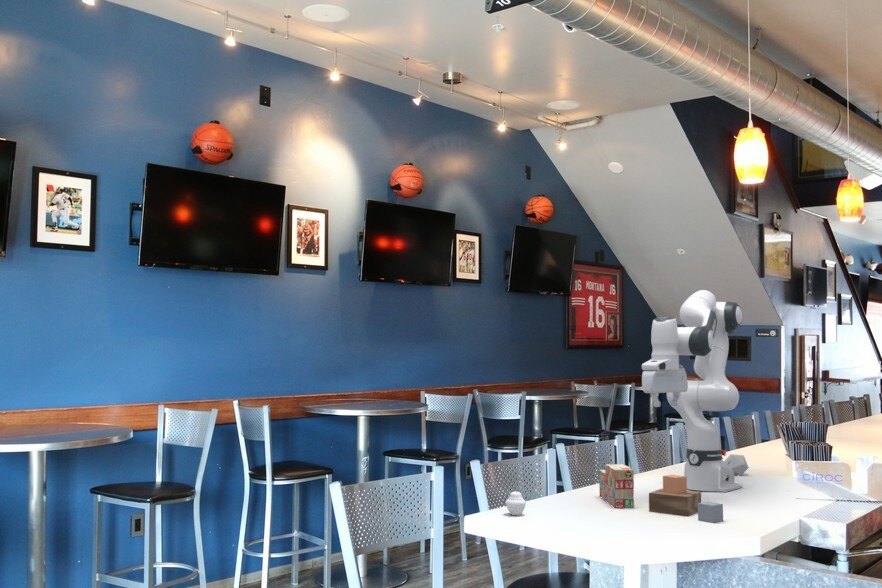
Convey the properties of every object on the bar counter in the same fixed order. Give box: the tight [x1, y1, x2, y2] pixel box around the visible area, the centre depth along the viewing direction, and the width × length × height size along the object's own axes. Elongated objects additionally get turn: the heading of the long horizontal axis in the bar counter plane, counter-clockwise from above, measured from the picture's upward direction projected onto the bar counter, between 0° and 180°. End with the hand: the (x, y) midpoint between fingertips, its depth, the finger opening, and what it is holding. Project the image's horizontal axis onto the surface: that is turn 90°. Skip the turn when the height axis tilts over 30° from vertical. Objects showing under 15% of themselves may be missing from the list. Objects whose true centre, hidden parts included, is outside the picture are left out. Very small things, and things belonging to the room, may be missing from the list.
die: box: [723, 453, 750, 477], centre depth 324 cm, size 8×9×10 cm
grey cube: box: [697, 501, 724, 524], centre depth 232 cm, size 5×5×5 cm
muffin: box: [505, 490, 527, 516], centre depth 239 cm, size 6×6×7 cm
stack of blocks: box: [598, 463, 635, 509], centre depth 261 cm, size 21×6×12 cm, turn 2°
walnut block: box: [648, 487, 702, 518], centre depth 246 cm, size 12×12×6 cm
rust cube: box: [662, 474, 688, 494], centre depth 246 cm, size 5×5×5 cm
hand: (666, 406), depth 265 cm, fingers open, 8 cm apart
